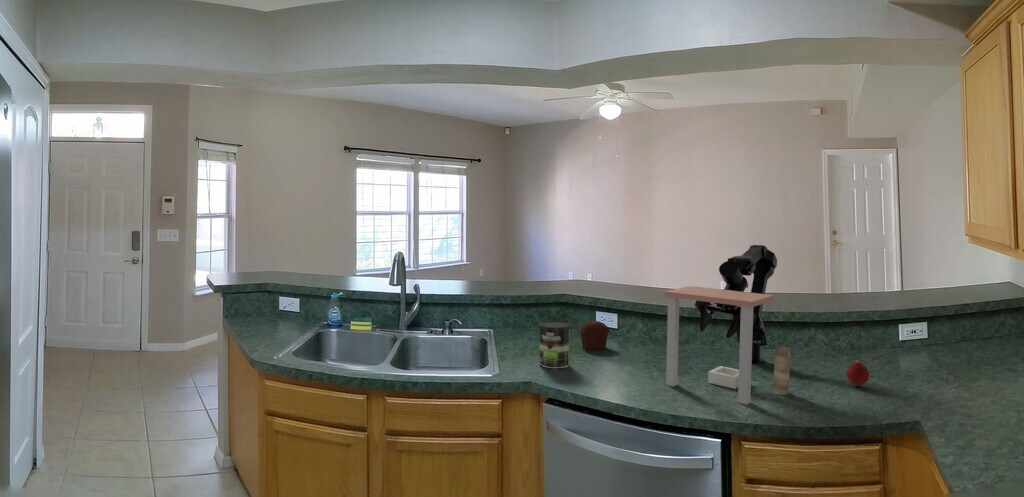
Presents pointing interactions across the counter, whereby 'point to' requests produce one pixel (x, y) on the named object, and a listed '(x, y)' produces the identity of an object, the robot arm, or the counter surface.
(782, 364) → the peg
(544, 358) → the coffee can
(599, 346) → the muffin
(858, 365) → the onion
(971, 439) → the counter surface
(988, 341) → the counter surface
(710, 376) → the socket
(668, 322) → the pink topped table
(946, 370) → the counter surface
